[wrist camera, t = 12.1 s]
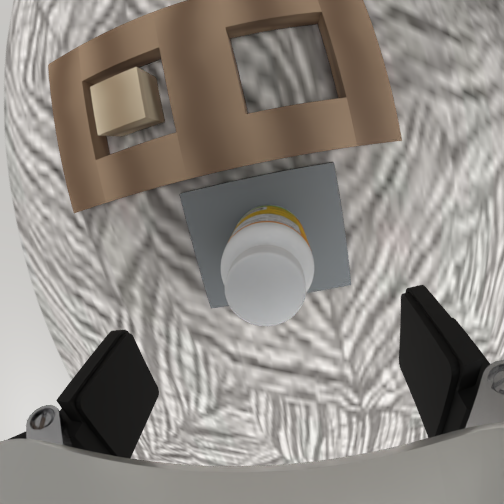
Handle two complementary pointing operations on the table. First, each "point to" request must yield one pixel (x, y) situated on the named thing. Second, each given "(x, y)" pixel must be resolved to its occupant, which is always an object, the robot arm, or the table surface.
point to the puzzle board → (216, 95)
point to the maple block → (126, 103)
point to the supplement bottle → (267, 266)
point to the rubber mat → (280, 194)
